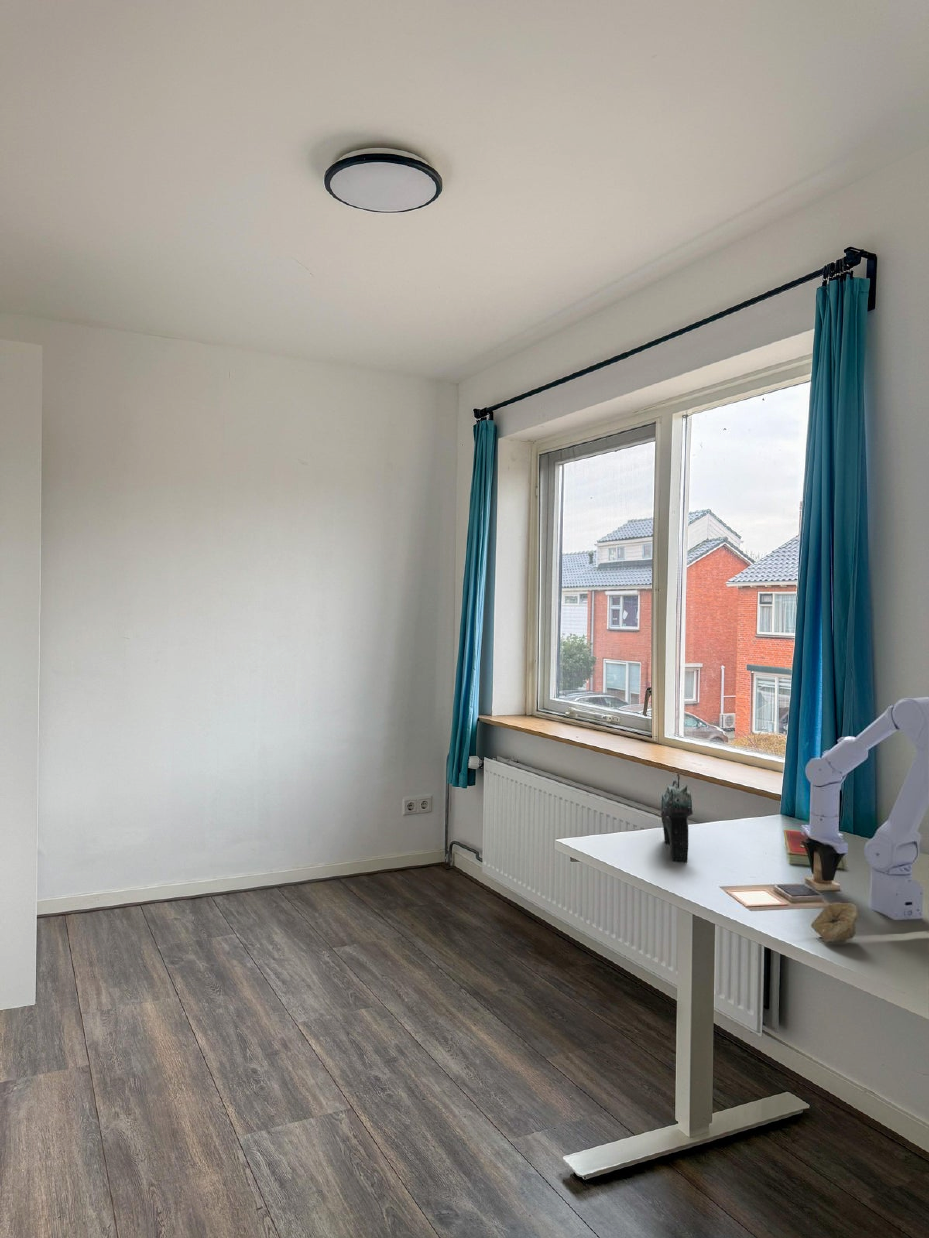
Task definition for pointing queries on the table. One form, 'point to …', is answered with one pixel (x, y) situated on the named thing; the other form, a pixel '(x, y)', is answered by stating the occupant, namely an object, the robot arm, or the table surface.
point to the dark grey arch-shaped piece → (676, 820)
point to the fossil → (836, 922)
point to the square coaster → (756, 897)
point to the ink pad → (798, 893)
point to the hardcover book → (799, 848)
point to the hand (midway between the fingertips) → (822, 876)
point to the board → (771, 888)
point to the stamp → (820, 877)
